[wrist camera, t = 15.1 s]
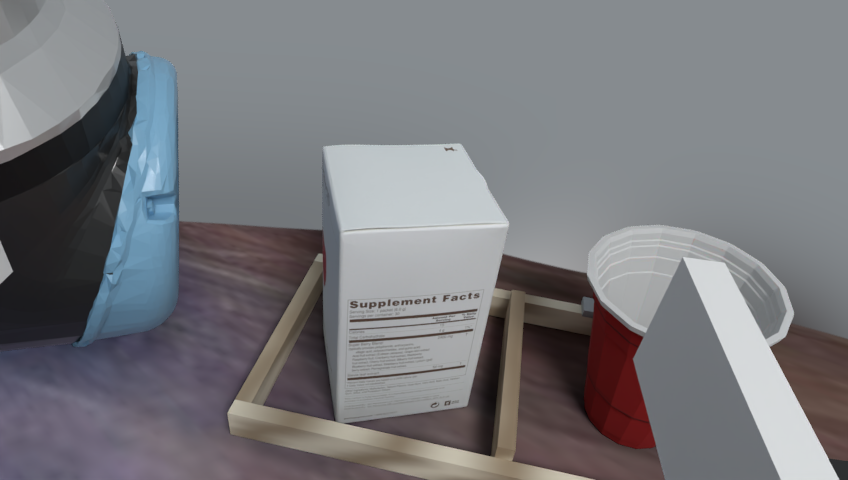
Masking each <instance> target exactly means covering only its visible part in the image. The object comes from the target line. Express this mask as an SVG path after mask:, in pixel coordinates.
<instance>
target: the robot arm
mask: <svg viewBox="0 0 848 480" xmlns="http://www.w3.org/2000/svg"><path fill="white" fill-rule="evenodd" d="M178 169H179V168H178V91H177V72H176V70H175V67H174V66H173V65H172V64H171V63H170V61H168V60H166V59H163V58H160V57H153V56H150V55H149V54H147V53H145V52H143V51H139V52H135V53H134V52H131V54H129V56H125V53H124V49H123V45H122V41H121V38H120V34H119V31H118V27H117V25H116V22H115V20H114V18H113V15H112V12H111V10H110V8H109V7H108V5H107V4H106V3H105V2H104V0H0V352H1V351H9V350H17V349H26V348H35V347H44V346H54V345H63V344H71V345H72V346H73V347H84V346H87V345H89V344H91V343H92V342H93V341H94V340H99V339H105V338H111V337H117V336H123V335H129V334H135V333H141V332H145V331H149V330H151V329H154V328H156V327H157V326H159V325H161V324H162V323H163V322H164V321H165V320H167V319H168V317H169V316H170V315H171V314H172V312H173V311H174V309H175V307H176V304H177V301H178V292H179V171H178ZM633 361H634V365H635V369H636V372H637V376H638V380H639V384H640V387H641V391H642V395H643V399H644V402H645V406H646V410H647V414H648V417H649V421H650V425H651V429H652V432H653V436H654V440H655V444H656V447H657V451H658V455H659V459H660V462H661V466H662V470H663V474H664V477H665V480H848V461H842V460H835V459H828V457H827V455H826V453H825V452H824V450H823V448H822V446H821V444H820V442H819V440H818V438H817V436H816V435H815V433H814V431H813V429H812V427H811V425H810V423H809V421H808V419H807V417H806V416H805V414H804V412H803V410H802V408H801V406H800V404H799V402H798V400H797V399H796V397H795V395H794V393H793V391H792V389H791V387H790V385H789V383H788V382H787V380H786V378H785V376H784V374H783V372H782V370H781V368H780V366H779V364H778V363H777V361H776V359H775V357H774V355H773V353H772V351H771V349H770V347H769V346H768V344H767V342H766V340H765V338H764V336H763V334H762V332H761V330H760V328H759V327H758V325H757V323H756V321H755V319H754V317H753V315H752V313H751V311H750V310H749V308H748V306H747V304H746V302H745V300H744V298H743V296H742V294H741V293H740V291H739V289H738V287H737V285H736V283H735V281H734V279H733V277H732V275H731V274H730V272H729V270H728V268H727V266H726V264H725V263H723V262H715V261H708V260H701V259H694V258H687V257H682V259H681V261H680V263H679V266H678V268H677V270H676V272H675V274H674V276H673V278H672V280H671V282H670V284H669V286H668V288H667V290H666V292H665V294H664V296H663V298H662V300H661V303H660V305H659V307H658V309H657V311H656V313H655V315H654V317H653V319H652V321H651V323H650V325H649V327H648V329H647V331H646V333H645V335H644V337H643V340H642V342H641V344H640V346H639V348H638V350H637V352H636V354H635V356H634V358H633Z"/></svg>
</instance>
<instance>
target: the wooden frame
mask: <svg viewBox="0 0 848 480" xmlns="http://www.w3.org/2000/svg"><path fill="white" fill-rule="evenodd" d="M322 290H323V254H319V253H318V255H317V257H316V259H315V260H314V262H313V264H312V266H311V267H310V269H309V271H308V273H307V274H306V276H305V278H304V280H303V281H302V283H301V285H300V287H299V288H298V290H297V292H296V294H295V295H294V297H293V299H292V301H291V302H290V304H289V306H288V308H287V309H286V311H285V313H284V315H283V316H282V318H281V320H280V322H279V323H278V325H277V327H276V329H275V330H274V332H273V334H272V336H271V337H270V339H269V341H268V343H267V344H266V346H265V348H264V350H263V351H262V353H261V355H260V357H259V358H258V360H257V362H256V364H255V365H254V367H253V369H252V371H251V372H250V374H249V376H248V378H247V379H246V381H245V383H244V385H243V386H242V388H241V390H240V392H239V393H238V395H237V397H236V399H235V400H234V402H233V404H232V406H231V407H230V409H229V411H228V413H227V414H228V421H229V428H230V434H231V435H236V436H240V437H244V438H249V439H253V440H257V441H262V442H266V443H271V444H275V445H279V446H284V447H288V448H292V449H297V450H301V451H305V452H310V453H314V454H319V455H323V456H327V457H332V458H336V459H340V460H345V461H349V462H354V463H358V464H362V465H367V466H371V467H375V468H380V469H384V470H388V471H393V472H397V473H402V474H406V475H410V476H415V477H419V478H423V479H428V480H594V479H589V478H585V477H580V476H576V475H571V474H567V473H562V472H558V471H553V470H549V469H544V468H540V467H535V466H531V465H526V464H522V463H517V462H513V461H512V460H513V457H514V454H515V450H516V433H517V417H518V401H519V385H520V369H521V353H522V337H523V322H525V323H530V324H535V325H540V326H545V327H550V328H555V329H560V330H565V331H570V332H574V333H579V334H584V335H589V336H591V328H592V320H593V313H594V312H593V311H594V299H593V298H587V297H583V299H582V302H581V305H579V304H573V303H568V302H563V301H558V300H553V299H548V298H543V297H538V296H533V295H528V294H525V292H523V291H518V290H513V289H512V291H507V290H502V289H497V288H495V289H494V293H493V297H492V301H491V306H490V310H489V314H488V315H490V316H495V317H500V318H505V322H504V331H503V341H502V351H501V361H500V371H499V381H498V390H497V400H496V410H495V420H494V430H493V440H492V450H491V456H486V455H482V454H477V453H473V452H468V451H464V450H459V449H455V448H450V447H446V446H441V445H437V444H432V443H428V442H423V441H419V440H414V439H410V438H405V437H401V436H397V435H392V434H388V433H383V432H379V431H374V430H370V429H365V428H361V427H356V426H352V425H347V424H343V423H338V422H334V421H329V420H325V419H320V418H316V417H311V416H307V415H302V414H298V413H293V412H289V411H284V410H280V409H276V408H271V407H267V406H263V405H264V403H265V401H266V399H267V397H268V395H269V393H270V391H271V389H272V387H273V385H274V383H275V382H276V380H277V378H278V376H279V374H280V372H281V370H282V368H283V366H284V364H285V362H286V360H287V358H288V356H289V354H290V352H291V351H292V349H293V347H294V345H295V343H296V341H297V339H298V337H299V335H300V333H301V331H302V329H303V327H304V325H305V323H306V321H307V320H308V318H309V316H310V314H311V312H312V310H313V308H314V306H315V304H316V302H317V300H318V298H319V296H320V294H321V292H322Z"/></svg>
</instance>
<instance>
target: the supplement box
mask: <svg viewBox="0 0 848 480" xmlns="http://www.w3.org/2000/svg"><path fill="white" fill-rule="evenodd" d="M322 153H323V157H322V162H323V169H322V170H323V174H322V181H323V182H322V183H323V184H322V186H323V332H324V340H325V348H326V356H327V364H328V372H329V379H330V387H331V394H332V402H333V409H334V416H335V421H336V422H338V423H343V424H344V423H351V422H358V421H366V420H373V419H380V418H388V417H396V416H403V415H410V414H417V413H425V412H432V411H439V410H446V409H453V408H461V407H466V406H467V405H468V401H469V397H470V392H471V388H472V384H473V379H474V375H475V370H476V366H477V362H478V358H479V353H480V349H481V345H482V340H483V336H484V332H485V327H486V323H487V319H488V314H489V310H490V306H491V301H492V297H493V293H494V289H495V284H496V280H497V276H498V272H499V267H500V263H501V259H502V254H503V250H504V246H505V241H506V237H507V232H508V228H509V222H508V220H507V218H506V217H505V215H504V214H503V212H502V210H501V209H500V207H499V205H498V204H497V202H496V200H495V199H494V197H493V196H492V195H491V192H490V191H489V189H488V187H487V183H486V181H485V179H484V178H483V176H482V175H481V174H480V173H479V172H478V171H477V169H476V168H475V166H474V164H473V163H472V161H471V159H470V157H469V156H468V154H467V152H466V151H465V149H464V147H463V146H462V145H461V144H439V145H335V146H324V147H323V152H322Z"/></svg>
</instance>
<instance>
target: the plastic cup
mask: <svg viewBox="0 0 848 480" xmlns="http://www.w3.org/2000/svg"><path fill="white" fill-rule="evenodd" d="M682 257H687V258H694V259H701V260H708V261H715V262H723V263H725V264H726V266H727V268H728V270H729V272H730V274H731V275H732V277H733V279H734V281H735V283H736V285H737V287H738V289H739V291H740V293H741V294H742V296H743V298H744V300H745V302H746V304H747V306H748V308H749V310H750V311H751V313H752V315H753V317H754V319H755V321H756V323H757V325H758V327H759V328H760V330H761V332H762V334H763V336H764V338H765V340H766V342H767V344H768V346H769V347H770V346H772V345H774V344H776V343H778V342H779V341H781V340H782V339H783V338H784V337H786V334H787V331H788V329H789V326H790V324H791V321H792V318H793V316H794V311H793V308H792V306H791V303H790V300H789V297H788V294H787V291H786V288H785V287H784V286H783V285H782V284H781V283H780V281H779V280H778V279H777V278H776V277H775V276H774V275H773V274H772V273H771V272H770V271H769V270H768V268H767V267H766V266H765V265H764V264H763V263H761V262H760V261H758V260H756V259H755V258H753V257H752V256H750V255H748V254H747V253H745V252H743V251H742V250H741V249H739V248H737V247H735V246H734V245H733V244H730V243H728V242H725V241H722V240H720V239H717V238H714V237H712V236H709V235H706V234H704V233H701V232H698V231H694V230H689V229H683V228H677V227H671V226H665V225H648V226H630V227H626V228H624V229H621V230H618V231H615V232H613V233H610V234H607V235H605V236H603V237H602V238H601V239H600V241H599V242H598V243H597V244H596V245H595V246H594V247H593V248H592V249H591V250H590V252H589V257H588V269H587V278H588V281H589V283H590V285H591V287H592V290H593V299H594V311H593V312H594V313H593V320H592V328H591V336H590V344H589V352H588V363H587V375H586V382H585V389H584V402H585V405H584V407H585V410H586V412H587V414H588V417H589V419H590V421H591V422H592V423H593V424H594V426H595V427H596V428H597V429H598V430H599V431H600V432H601V433H602V434H603V435H605V436H606V437H608V438H610V439H611V440H613V441H614V442H616V443H618V444H621V445H624V446H628V447H631V448H635V449H641V448H653V447H654V446H656V444H655V440H654V436H653V432H652V429H651V425H650V421H649V417H648V414H647V410H646V406H645V402H644V399H643V395H642V391H641V387H640V384H639V380H638V376H637V372H636V369H635V365H634V361H633V358H634V356H635V354H636V352H637V350H638V348H639V346H640V344H641V342H642V340H643V337H644V335H645V333H646V331H647V329H648V327H649V325H650V323H651V321H652V319H653V317H654V315H655V313H656V311H657V309H658V307H659V305H660V303H661V300H662V298H663V296H664V294H665V292H666V290H667V288H668V286H669V284H670V282H671V280H672V278H673V276H674V274H675V272H676V270H677V268H678V266H679V263H680V261H681V259H682Z"/></svg>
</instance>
